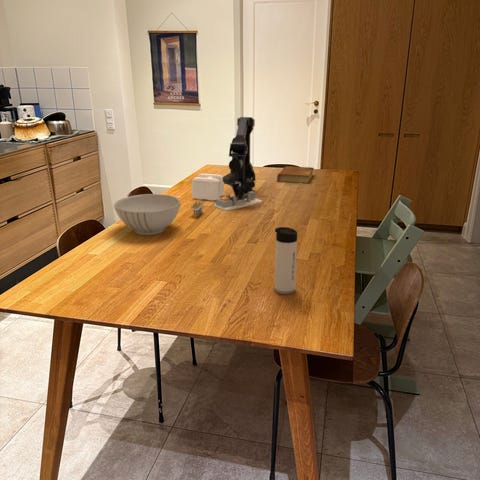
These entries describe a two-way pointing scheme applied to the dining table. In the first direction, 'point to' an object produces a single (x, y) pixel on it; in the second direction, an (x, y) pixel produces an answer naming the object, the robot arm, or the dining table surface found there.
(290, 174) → the diary
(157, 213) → the decorative bowl
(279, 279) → the travel mug
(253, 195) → the grey brown bar
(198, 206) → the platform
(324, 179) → the dining table surface
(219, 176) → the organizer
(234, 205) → the board
